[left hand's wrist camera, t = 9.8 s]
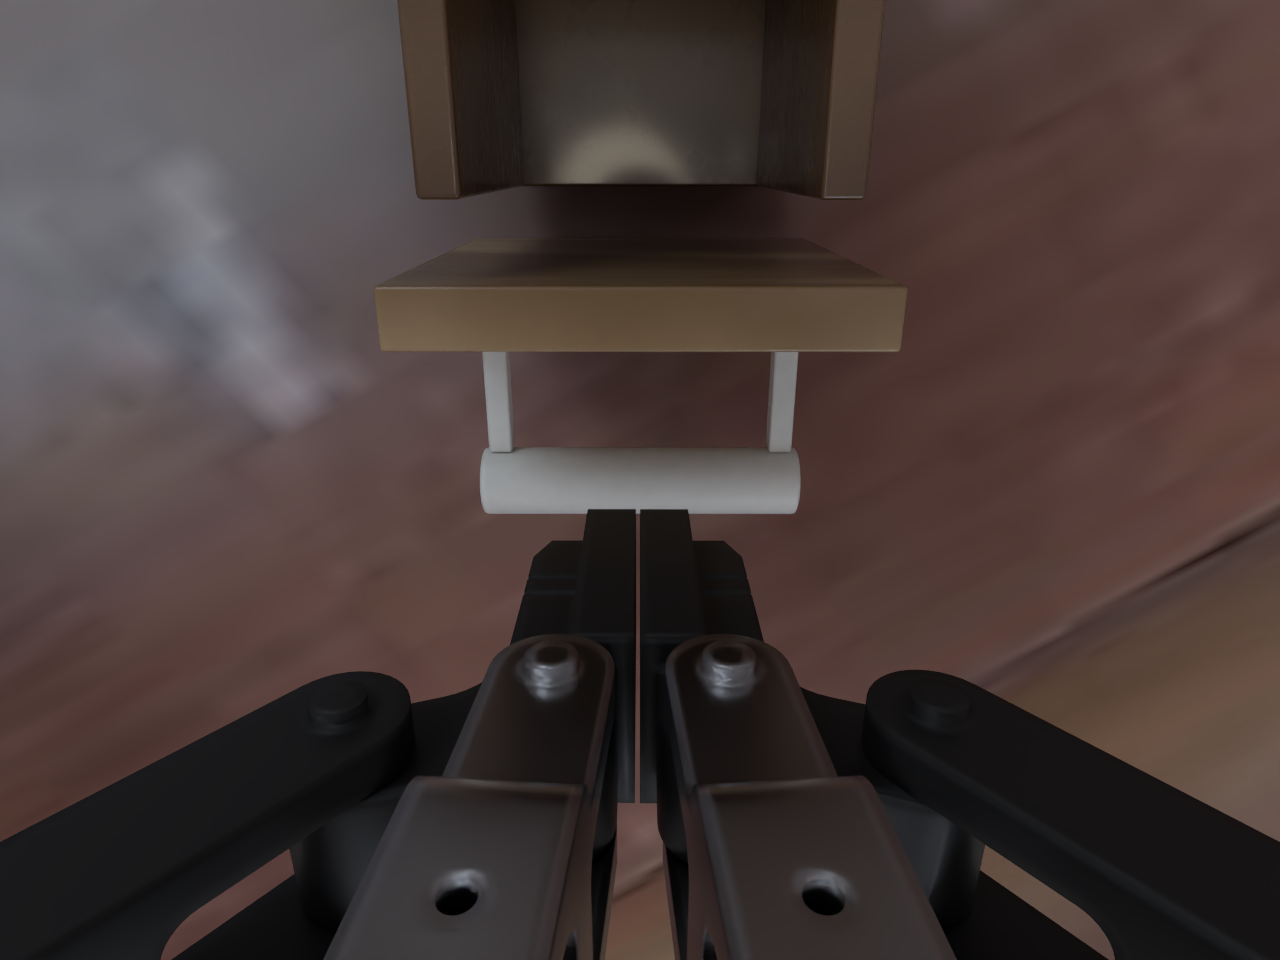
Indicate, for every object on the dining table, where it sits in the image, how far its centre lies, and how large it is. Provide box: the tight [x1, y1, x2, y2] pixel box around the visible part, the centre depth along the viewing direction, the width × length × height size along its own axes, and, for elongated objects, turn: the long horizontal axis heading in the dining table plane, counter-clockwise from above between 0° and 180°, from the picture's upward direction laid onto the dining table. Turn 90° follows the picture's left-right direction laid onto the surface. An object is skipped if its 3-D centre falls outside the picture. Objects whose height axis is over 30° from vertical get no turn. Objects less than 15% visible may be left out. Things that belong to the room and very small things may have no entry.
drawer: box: [374, 0, 908, 514], centre depth 17 cm, size 21×10×10 cm, turn 0°
